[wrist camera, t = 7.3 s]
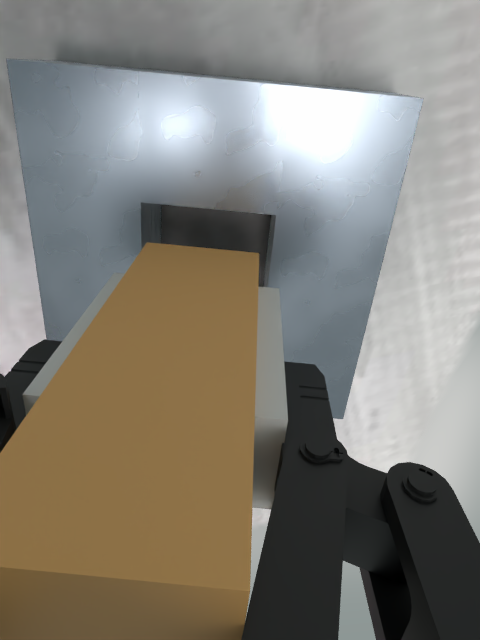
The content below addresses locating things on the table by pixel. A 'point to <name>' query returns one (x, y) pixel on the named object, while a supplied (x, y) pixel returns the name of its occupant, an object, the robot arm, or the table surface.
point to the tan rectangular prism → (140, 463)
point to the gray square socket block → (214, 187)
